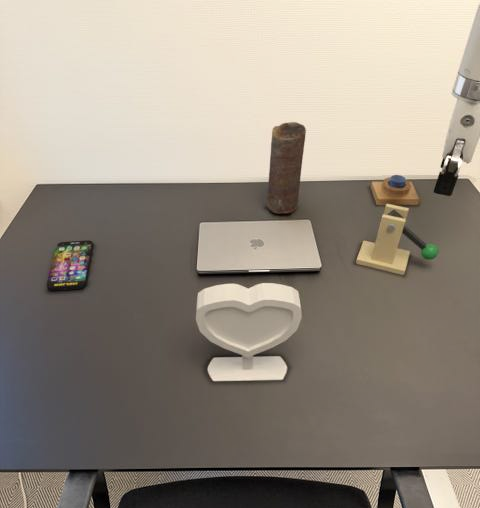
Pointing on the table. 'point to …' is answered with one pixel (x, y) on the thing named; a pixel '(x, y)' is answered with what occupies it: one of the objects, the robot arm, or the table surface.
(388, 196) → the button block
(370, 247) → the switch bracket
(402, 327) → the table surface
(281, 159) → the rusty metal cylinder
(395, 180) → the button
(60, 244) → the smartphone
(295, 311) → the heart sculpture
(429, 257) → the lever
